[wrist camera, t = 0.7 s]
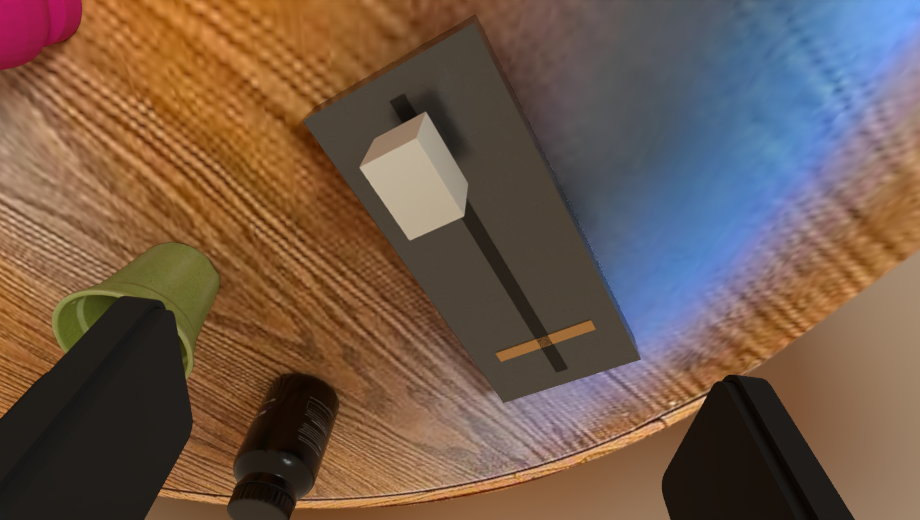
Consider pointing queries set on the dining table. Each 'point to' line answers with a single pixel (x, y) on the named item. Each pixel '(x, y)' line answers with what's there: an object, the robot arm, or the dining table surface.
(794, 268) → the dining table surface
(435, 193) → the fader knob
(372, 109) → the fader console
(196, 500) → the dining table surface
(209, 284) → the plant pot
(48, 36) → the pepper mill
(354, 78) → the dining table surface
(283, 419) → the supplement bottle
